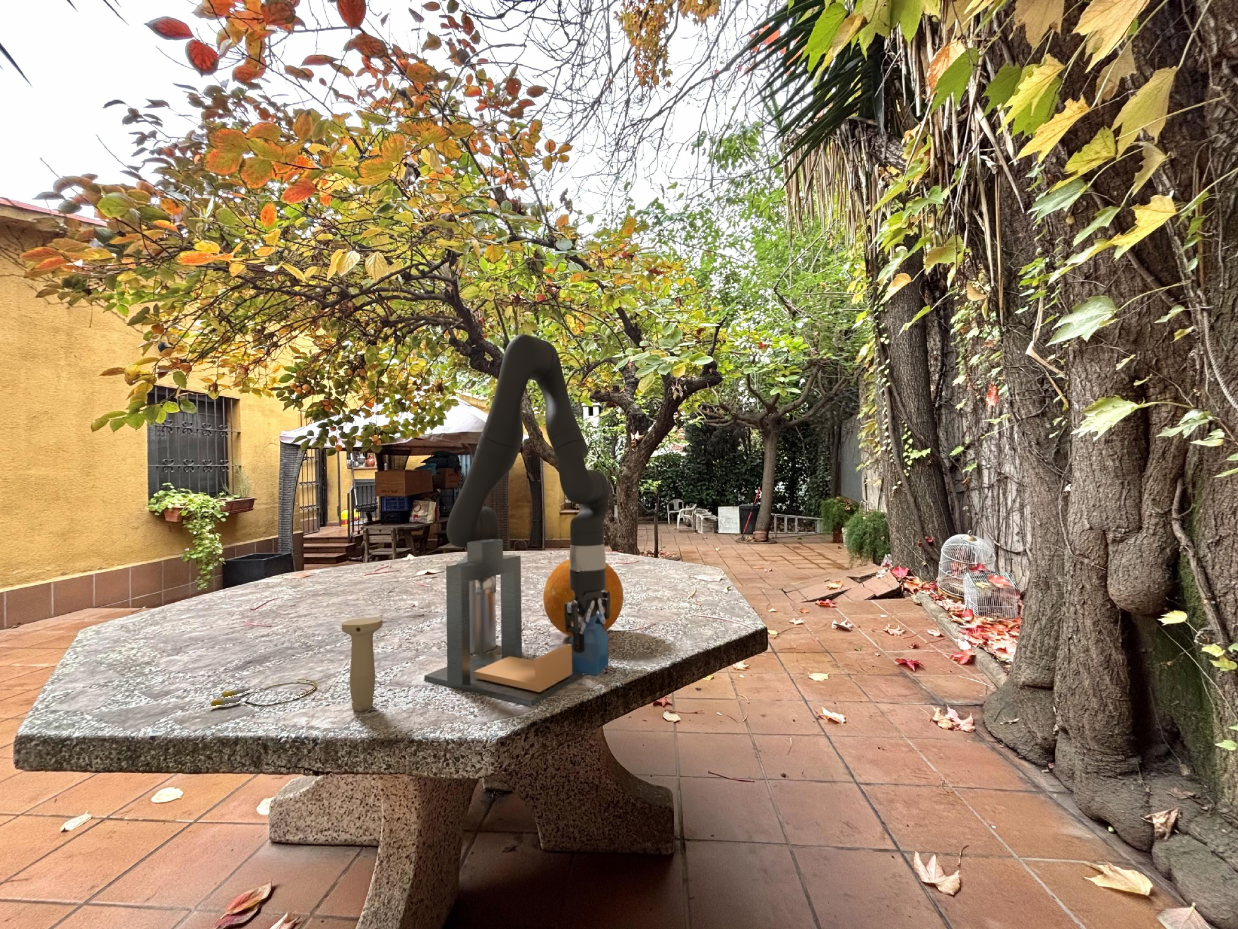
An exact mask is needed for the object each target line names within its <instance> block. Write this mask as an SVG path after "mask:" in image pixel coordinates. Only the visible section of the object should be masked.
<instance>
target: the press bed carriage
mask: <svg viewBox="0 0 1238 929" xmlns="http://www.w3.org/2000/svg"><path fill="white" fill-rule="evenodd" d="M571 674H572V644H569V643H566V644H564V645H561V646H560V647H557V648H555V649H553V650H552V651H549V652H547V653H545V654H542V655H540V656H538V657H536V658H534V660H532V659H527V658H523V657H522V658H517V657H511V656H508V657H506V658H504V659H501V660H499V661H497V662H494V663H492V664H490V665H488V666H485V667H483V668H481V669H478V670H476V671H474V678H478V679H483V680H487V681H492V682H496V683H501V684H505V685H510V686H514V687H519V688H523V689H528V690H532V691H537V692H541V691H543V690H545V689H546V688H548V687H550V686H552V685H554V684H555V683H557V682H559V681H561V680H563V679H564V678H566V677H568V676H570V675H571Z"/></svg>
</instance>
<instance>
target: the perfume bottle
mask: <svg viewBox="0 0 1238 929" xmlns="http://www.w3.org/2000/svg"><path fill="white" fill-rule="evenodd" d="M595 612H596V609H595V610H592V611H591V615H590V619H589V622H588V623H587V624H586V626H585V629H584V633H583V634H584V648H585V650H584V652H582V653H578V652H574V649H573V634H572V636H570V638H569V640H568V644H572V669H574V670H579V671H583V675H585V674H587V675H594V676H598V675H599V674H600V673H601V672H603V671H604V670H605V668H607V667H608V666H609V634H608V632H607V630H606V631H605V629H604V628H603V626H602V625H601V624H595V621H596V620H597V615H596V614H595ZM580 617H581V616H580ZM579 628H580V625H579Z"/></svg>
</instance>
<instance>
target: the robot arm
mask: <svg viewBox="0 0 1238 929" xmlns="http://www.w3.org/2000/svg"><path fill="white" fill-rule="evenodd" d="M503 354H504V355H503V357H502V360H501V366H500V369H499V375H498V378H497V384H496V388H495V391H494V395H493V399H492V401H491V404H490V408H489V411H488V415H487V418H486V421H485V424H484V426H483V429H482V431H481V434H480V437H479V440H478V442H477V446H476V450H475V453H474V455H473V459H472V462H471V464H470V465H469V466H470V467H469V469H468V472H467V474H466V477H465V479H464V483H463V485H462V487H461V490H460V491H459V494H458V496H457V498H456V499H455V500H456V501H455V503H454V504H453V507H452V509H451V511H450V513H449V516H448V520H447V524H446V536H447V539H448V541H449V543H450V544H451V545H452V546H453V547H456V548H467V542H472V541H479V540H486V539H497V540H500V524H499V519H498V516H497V514H496V512H495V511H494V509H492V508H491V507H488V506H484V505H485V503H486V502H487V499H488V497H489V496H490V494H491V492H492V491H494V489H495V488H496V487H497V486H498V484H500V482H501V481H502V480H503V479H504V478H505V477H507V475H508V474H509V472H510V471H512V469H513V467H514V465H515V462H516V461H517V458H518V456H519V453H520V450H521V447H522V443H523V440H524V422H523V416H522V401H523V398H524V397H523V396H524V393H525V390H526V388H527V385H528V383H529V380H531V381H535V383H536V384H537V386H538V388H539V390H540V392H541V394H542V395H543V399H544V404H545V405H544V406H545V422H544V423H545V430H546V434H547V438H548V440H549V442H550V445H551V447H552V450H553V453H554V455H555V457H556V460H557V469H558V470H557V471H558V476H559V482H560V487H561V490H562V492H563V494H564V495H565V496H564V497H566V499H567V500H568V501H569V502H571V503H573V504H575V505H579V509H578V513H577V515H575V516H574V517H573V518H571V520H570V523H569V524H570V526H569V528H570V529H569V536H570V537H569V539H570V546H569V547H570V548H569V557H568V559H569V564H570V589H571V590H573V591H574V593H575V595H574V600H573V601H572V602H565V604H564V613H565V630H566V632H571V633H572V634H573V649H574V652H578V653H582V652H584V650H585V648H584V634H583V633H584V629H585V626H586V624H587V623H588V622H589V619H590V615H591V611H592V610H595V609H596V612H595V614H596V615H597V620H596V621H595V624H601V625H602V626H603V628H604V624H605V620H606V619H609V617H610V591H603V589H605V588H606V562H607V560H606V559H607V558H606V550H605V532H604V531H605V529H604V523H605V518H606V516H607V515H606V514H607V510H608V503H609V498H610V487H609V486H610V485H609V482H608V480H607V478H606V476H605V475H604V473H602V472H601V471H598V470H596V469H595V470H591V469H590V470H588V469H587V466H586V462H585V459H586V458H587V457H588V454H589V447H588V445H587V442H586V440H585V436H583V433H582V431H581V428H580V425H579V422H578V421H577V418H576V416H575V413H574V409H573V407H572V404H571V401H570V396H569V393H568V388H567V384H566V381H565V380H566V379H565V376H564V372H563V367H562V364H561V360H560V355H559V353H558V351H557V349H556V347H555V346H554V344H552V343H551V342H549V341H546V340H545V339H541V338H539V337H535V336H532V335H529V334H527V333H520V334H517V335H515V336H514V337H513V338H512V339H511V340H510V341H509V343H508V344H507V346H506V348H505V351H504V353H503ZM465 562H467V554H466V555H465V556H464V557H463V558H462V559H460V560H459V561H458V562H457V563H456V564H460V563H465ZM496 600H497V599H496V593H493V594H487V595H478V594H476V580H474V581H469V610H470V655H471V654H480V653H482V652H484V653H487V652H489V651H491V650H494V649H495V648H496V647H497V619H496V618H497V615H496V614H497V608H496V603H497V602H496ZM603 607H604V608H605V613H604V609H603ZM578 614H579V615H580V616H581V617H578ZM570 621H572V622H573V623H572V626H571V623H570ZM579 622H581V624H580V628H579Z"/></svg>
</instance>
